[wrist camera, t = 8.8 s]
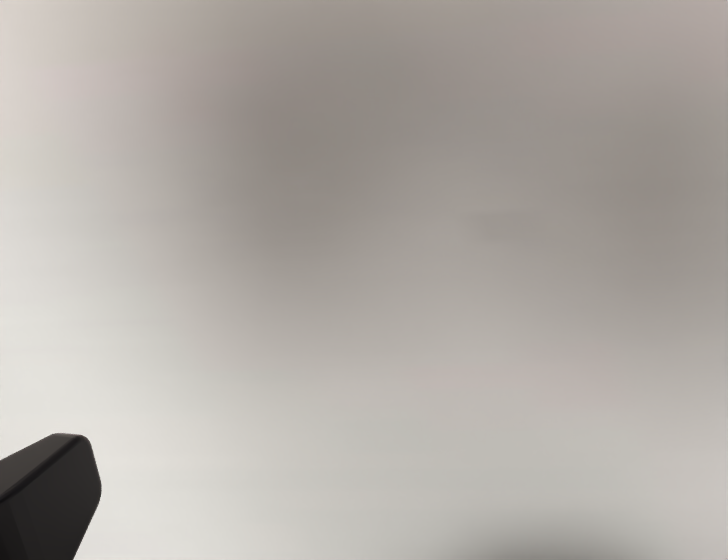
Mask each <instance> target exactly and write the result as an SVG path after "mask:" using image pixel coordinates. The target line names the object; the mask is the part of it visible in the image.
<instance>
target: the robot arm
mask: <svg viewBox="0 0 728 560" xmlns="http://www.w3.org/2000/svg"><path fill="white" fill-rule="evenodd" d="M100 497H101V480H100V476H99V473H98V469H97V465H96V461H95V458H94V454H93V450H92V446H91V443H90V441H89V440H88V439H87V438H86V437H85V436H82V435H77V434H66V433H55V434H52V435H50V436H48V437H46V438H44V439H42V440H40V441H38V442H36V443H34V444H32V445H30V446H28V447H26V448H24V449H22V450H20V451H18V452H16V453H14V454H12V455H10V456H8V457H6V458H4V459H2V460H0V560H73V559H74V557H75V555H76V552H77V550H78V548H79V546H80V544H81V541H82V539H83V537H84V535H85V533H86V530H87V528H88V526H89V524H90V522H91V519H92V517H93V515H94V513H95V511H96V509H97V506H98V504H99V501H100Z"/></svg>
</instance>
